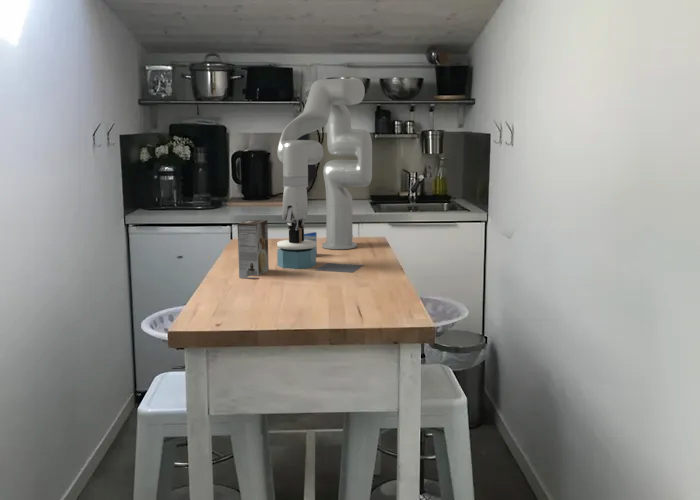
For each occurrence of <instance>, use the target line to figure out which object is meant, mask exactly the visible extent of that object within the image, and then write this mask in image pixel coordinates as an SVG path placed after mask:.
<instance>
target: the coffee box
mask: <svg viewBox="0 0 700 500" xmlns="http://www.w3.org/2000/svg"><path fill="white" fill-rule="evenodd" d="M236 227H237V248H238V249H237V251H238V252H237V253H238V278H239V279H252V280H255V279H257V280H258V279H259V280H260V277H259V276H261V275H263V274H265V273H266V272H268V271H269V270H270V268H269V267H270V266H269V232H268V230H269V229H268V219H267V220H266V219H265V220H263V219H249V220H248V219H247V220H244V221H241V222H240V223H237V224H236ZM251 276H255V277H251ZM256 276H258V277H256Z"/></svg>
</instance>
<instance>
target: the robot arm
mask: <svg viewBox="0 0 700 500" xmlns="http://www.w3.org/2000/svg"><path fill="white" fill-rule="evenodd" d="M365 92H366V90H365V85H364V83H363V81H362V80H361V79H359V78H356V77H354V78H323V79H318V80H316V81H314V82H313V83H312V84H311V87H310V90H309V92H308V96H307V99H306V101H305V104H304V108H303V112H302V113H301V114H299V115H297V116H296V117H295V118H294V119H293V120H291V121H290V122H289V123H288V124H287V125H286V126H285V127H284V129H283V130H282V133H281V135H280V138H279V142H278V143H277V144H278V145H277V151H276V153H277V158H278V160H279V161H280V162H281V163H282V175H283V176H282V178H283V180H282V181H283V182H282V183H283V192H282V193H283V195H282V209H281V210H282V212H281V213H282V214H281V215H282V220H284V221H286V225H288V240H289V243H299V230H298V228H302V241H304V232H305V221H306V218H307V216H308V212H309V211H308V209H309V208H308V205H309V204H308V190H307V189H308V187H309V167H308V166H309V165H316V164H318V163H320V162H321V161H322V160H323V157H324V147H323V146H322V144H321V143H320V142H319V141H317V140H313V139H312V140H311V139H299V138H301V137H303V136H305V135H307V134H310V133H313V132H315V131H318V130H320V129H322V128H324V127H325V126H326V141H327V142H326V143H327V144H326V145H327V151H328V153H329V154H330V155H333V156H339V157H356V158H357V159H333V160H332V159H331V160H329V161H327V162H326V163H325V164H324V166H323V171H322V172H323V180H324V185H325V202H326V203H325V205H326V206H325V211H326V213H325V218H326V220H325V221H326V225H325V227H326V229H325V231H326V241H325V242H323V243H322V245H321V246H322V248H324V249H327V250H350V249H355V248H357V245H358V244H357V243H356V242H353V237H354V235H353V197H352V194H351V193H350V192H349V190H348V187H351V188H352V187H354V188H364V187H369V185H370V184H371V182H372V180H373V179H372V177H373V141H372V137H371V133H370V132H369V131H368V130H366V129H364V128H352V123H351V122H352V117H351V113H350V111H349V109H348V107H347V106H353V105H358V104H361V102H362V101H363V100H364V97H365V94H366V93H365Z"/></svg>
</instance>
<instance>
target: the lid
mask: <svg viewBox="0 0 700 500" xmlns="http://www.w3.org/2000/svg"><path fill="white" fill-rule="evenodd" d="M298 230H299V243H289V239H284V240H279V241H277V242H276V245H277V246H276V247H277V249H280V248H281V249H292V250H298V249H310V248H314V247H316V242H315V241H312V240H304V241H302V228H298Z"/></svg>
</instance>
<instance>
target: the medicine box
mask: <svg viewBox="0 0 700 500" xmlns="http://www.w3.org/2000/svg"><path fill="white" fill-rule="evenodd" d="M317 234H318V233H317V232H315V231H311V230H309V231H308V230H307V231H304V240H312V241H315V242H316V247H314V248H315V249H316V256H317V254H318V246H317V242H318V240H317Z"/></svg>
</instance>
